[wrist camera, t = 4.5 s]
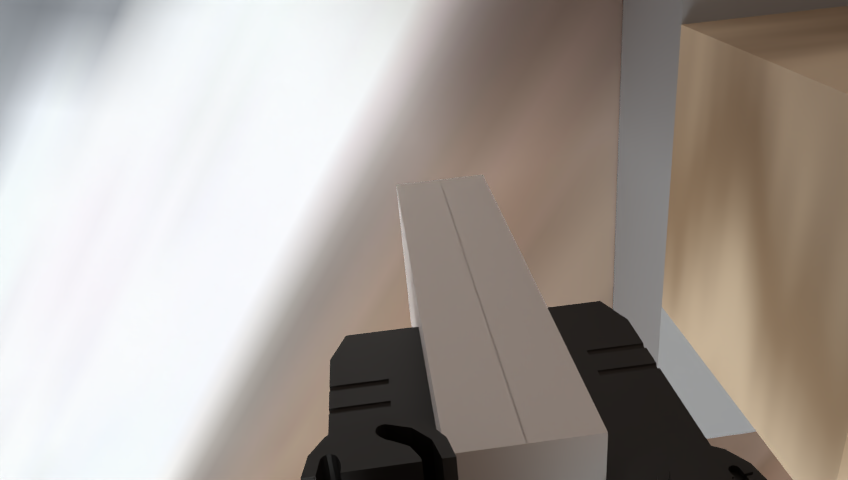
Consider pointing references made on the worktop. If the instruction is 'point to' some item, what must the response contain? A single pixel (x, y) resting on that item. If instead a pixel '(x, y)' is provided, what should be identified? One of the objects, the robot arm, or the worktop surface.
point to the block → (766, 225)
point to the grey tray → (665, 190)
